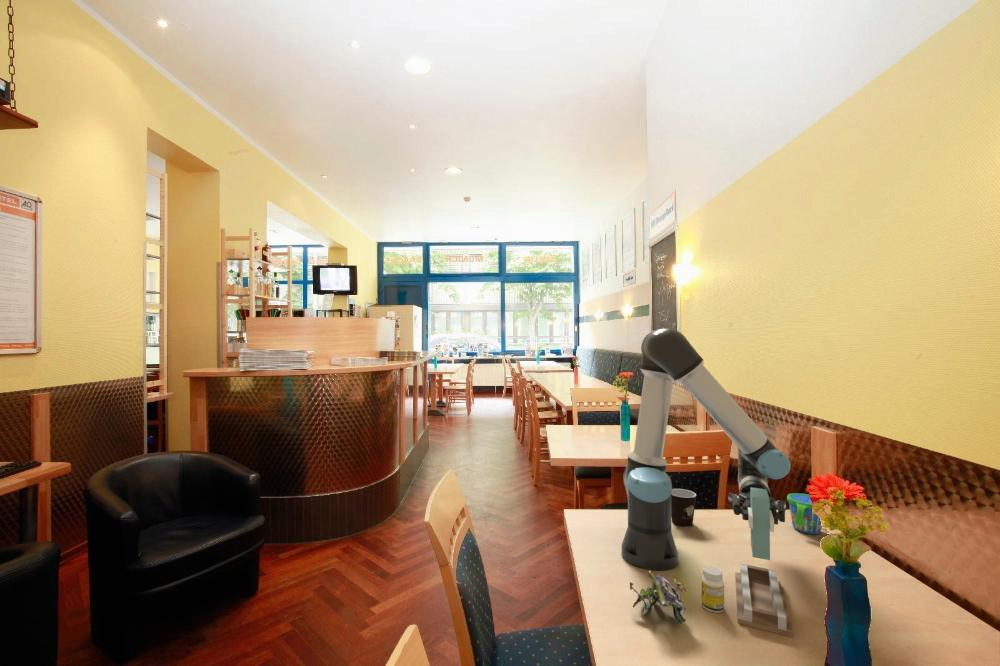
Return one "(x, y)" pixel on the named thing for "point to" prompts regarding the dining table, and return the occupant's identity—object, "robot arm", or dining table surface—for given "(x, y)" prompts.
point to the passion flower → (662, 596)
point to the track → (761, 600)
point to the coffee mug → (682, 507)
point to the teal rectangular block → (760, 523)
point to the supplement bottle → (712, 589)
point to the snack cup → (803, 514)
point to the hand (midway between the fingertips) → (761, 524)
